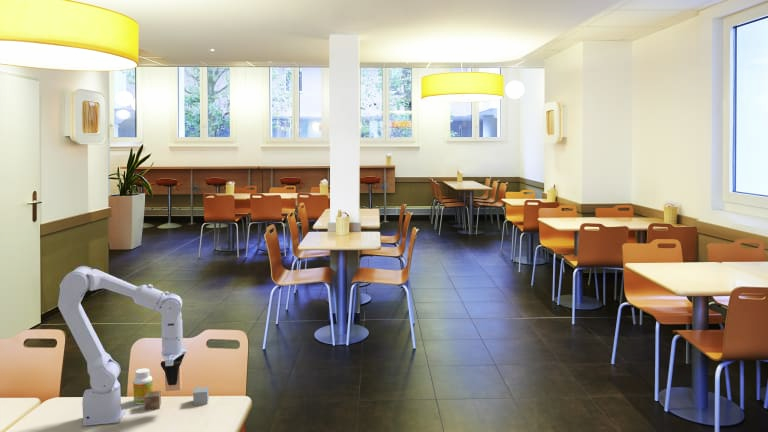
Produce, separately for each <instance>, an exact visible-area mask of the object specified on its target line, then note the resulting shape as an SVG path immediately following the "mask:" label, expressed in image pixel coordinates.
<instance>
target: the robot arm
mask: <svg viewBox="0 0 768 432" xmlns="http://www.w3.org/2000/svg"><path fill="white" fill-rule="evenodd" d="M99 289H106V290H108V291H112V292H114V293H117V294H121V295H123V296H127V297H131V298H132V300H133V302H134V303H135V304H136V305H139V306H141V307H144V308H146V309H149V310H152V311H155V312H159V314H161V356H162V358H163V359H164V360H162V361H160V367H161V368H162V370H163V371H164V375H165V374H166V378H167V382H168V385H176V383H177V379H178V371H179V367H180V365H181V366H182V363H183V359H184V358H185V354H187V353H188V349H187V348H184V336H183V335H184V334H183V331H184V330H183V319H182V318H183V314H182V307H183V299H182V298H181V296H179V295H178V294H176V293H175V292H174V293H173V292H171V293H170V291H167V290H166V291H162V290H160V289H157V288H155V287H154V285H153V284H150V283H149V284H148V285H146V284H141V285H135V284H132V283H130V282H127V281H126V280H123V279H121V278H118V277H116V276H114V275H111V274H109V273H106V272H104V271H102V270H100V269H97V268H93V269H92V267H89V266H86V265H80V266H78V267H76V268H75V269H74V270H72V271H70V272H68V273H67V274H66V275H65V276H64V277H63V279H62V281H61V282H60V284H59V296H58V300H57V301H58V302H57V307H58V309H59V312H60V313H61V315H62V317H63V320H64V321H65V323H66V325H67V327H68V329H69V330H70V332H71V334H72V336H73V338H74V340H75V342H76V344H77V346H78V348H79V350H80V352H81V353H82V355H83V357H84V359H85V361H86V365H87V368H86V369H87V374H88V375H89V383H90V385H89V386H90V388H89V389H85V390H84V392H83V394H82V395H83V396H82V405H81V406H82V421H83V422H82V427H83V426H84V427H86V426H96V425H108V424H118V423H120V421H121V420H122V419H123V416H124V415H125V413H126V409H122V398H121V393H122V392H121V383H120V382H119V380H118V378H119V376H120V374H121V366H120V364H119V363H118V362H117V361H115V360H114V359H113V358H112V356H111V354H109V353H108V352H107V351H106V350H105V349H104V347H103V344H102V343H101V341H100V339H99V337H98V334H97V333H96V331H95V330H94V326H92V323H91V322H90V319H89V317H88V316H87V314H86V312H85V309H84V308H83V306H82V304H81V302H82V301H83V298H84V296H85V294H86V292H87V291H88V290H89V291H90V292H91V291H96V290H99Z"/></svg>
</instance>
